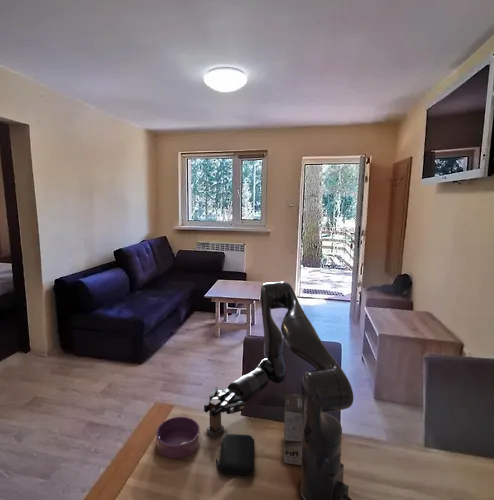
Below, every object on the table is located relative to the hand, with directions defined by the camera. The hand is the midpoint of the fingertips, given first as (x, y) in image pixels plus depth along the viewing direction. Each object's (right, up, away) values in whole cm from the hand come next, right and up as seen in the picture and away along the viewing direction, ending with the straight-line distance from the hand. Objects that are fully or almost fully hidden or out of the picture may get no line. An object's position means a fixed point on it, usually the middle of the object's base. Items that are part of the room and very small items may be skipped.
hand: (208, 411), depth 104 cm
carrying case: (+8, -10, -7) cm, 15 cm away
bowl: (-9, -9, -1) cm, 13 cm away
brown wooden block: (+2, -9, +4) cm, 10 cm away
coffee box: (+26, -10, -5) cm, 28 cm away
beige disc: (-7, -9, -3) cm, 12 cm away
